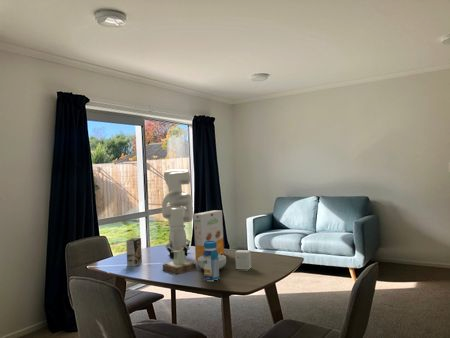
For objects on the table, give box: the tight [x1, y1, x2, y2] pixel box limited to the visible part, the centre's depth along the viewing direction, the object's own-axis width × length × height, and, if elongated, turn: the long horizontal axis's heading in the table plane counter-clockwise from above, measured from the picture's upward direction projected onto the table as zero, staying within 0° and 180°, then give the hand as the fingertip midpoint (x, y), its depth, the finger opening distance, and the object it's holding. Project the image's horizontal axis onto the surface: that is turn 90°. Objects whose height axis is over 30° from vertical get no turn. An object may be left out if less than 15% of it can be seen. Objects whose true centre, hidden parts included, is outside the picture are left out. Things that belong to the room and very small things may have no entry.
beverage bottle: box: [203, 241, 220, 282], centre depth 195 cm, size 8×8×20 cm
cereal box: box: [193, 209, 225, 261], centre depth 246 cm, size 22×6×30 cm, turn 143°
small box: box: [234, 249, 252, 270], centre depth 212 cm, size 8×6×10 cm
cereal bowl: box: [197, 254, 227, 270], centre depth 215 cm, size 17×17×7 cm
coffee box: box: [125, 237, 143, 267], centre depth 235 cm, size 9×6×16 cm
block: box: [172, 250, 186, 264], centre depth 217 cm, size 5×5×7 cm
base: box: [162, 259, 197, 275], centre depth 217 cm, size 14×14×4 cm
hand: (178, 257), depth 217 cm, fingers open, 9 cm apart
